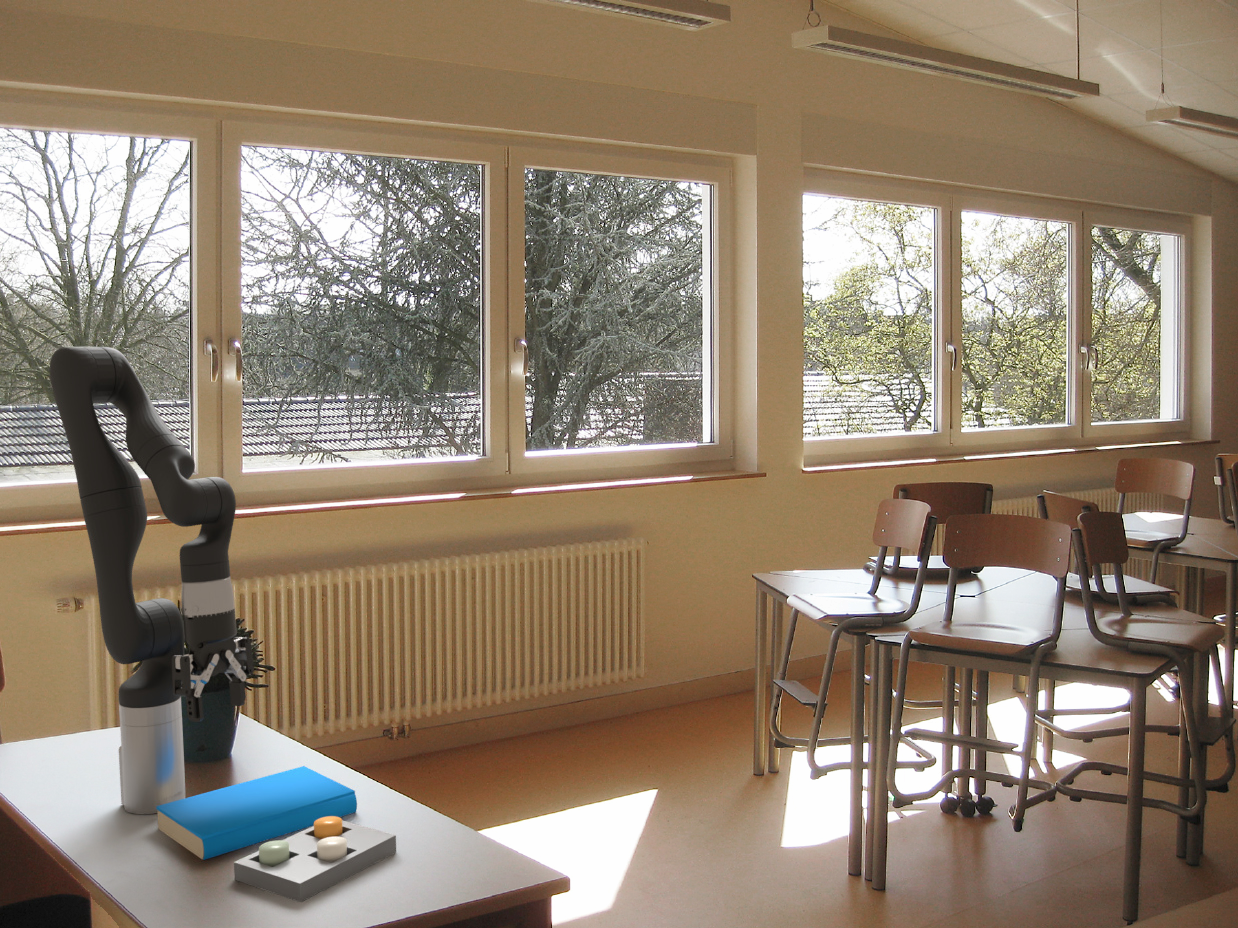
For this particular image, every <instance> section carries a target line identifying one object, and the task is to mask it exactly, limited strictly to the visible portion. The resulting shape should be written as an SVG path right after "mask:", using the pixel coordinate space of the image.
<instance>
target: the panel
mask: <svg viewBox="0 0 1238 928" xmlns="http://www.w3.org/2000/svg"><path fill="white" fill-rule="evenodd" d="M342 830H343V834H341V835H339V836H337V837H343V838H345V839H346V841H347V856H345V857H343V858H341V859H339V860H337V861H335V862H333V863H330V862H327V861H323V860H320V859H317V843H318V841H320V840H322V839H320V838H316V837H314V825H313V826H310V827H307V828H305V829H302V831H299V832H297V833H295V834H292V835H291V836H288V837H285V838H284V839H280V840H281V841H286V842H288V843H289V857H290V859H289V860H287V861H284V862H282V863H280V864H278V865H276V866H274V867H271V866H267V865H264V864H261V863H259V850H258V851H255V852H254V853H253V852H252V853H251V854H249V855H247V856H245V857H242V858H240V859H238V860H236V861H234V862H233V870H234V872H233V873H234V880H235V881H237V882H240V883H243V884H247V885H248V886H253V887H255V888H258V889H261V890H265V891H267V892H271V893H273V894H276V895H278V896H279V895H280V896H282V897H285V898H287V899H291V900H293V901H297V902H303V901H306V900H307V899H309V898H311V897H313V896H315V895H317V894H318V893H321V892H323V891H324V890H326V889H329V888H330V887H332V886H334V885H336V884H338V883H341V882H342V881H344V880H345V879H347V878H349V877H351V876H353V875H355V874H357V873H359V872H361V871H363V870H365V869H366V868H368V867H370V866H372V865H374V864H376V863H378V862H380V861H382V860H384V859H387V858H388V857H390V856H391V855H393V854H396V852H397V835H396V834H393V833H389V832H386V831H382V830H378V829H375V828H371V827H368V826H364V825H360V824H356V823H353V822H349V821H345V820H342Z"/></svg>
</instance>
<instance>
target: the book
mask: <svg viewBox="0 0 1238 928" xmlns="http://www.w3.org/2000/svg"><path fill="white" fill-rule="evenodd" d="M357 802H358V801H357V796H356V790H354V789H353V788H352V789H351V788H350V787H348V786H346V785H344V784H341V783H340V782H337V781H336V780H333V779H332V778H329V777H327V776H325V775H323V774H322V773H319V772H316V771H315V770H313V769H311V768H309V767H307V766H305V765H303V766H299V767H296V768H292V769H288V770H287V769H286V770H285V771H281V772H277V773H273V774H270V775H267V776H261V777H258V778H255V779H251V780H248V781H244V782H240V783H237V784H232V785H230V786H225V787H222V788H219V789H214V790H210V791H208V792H204V793H203V792H202V793H200V794H196V795H192V796H189V797H185V799H181V800H177V801H174V802H170V803H166V804H163V805H159V806H156V809H157V811H158V813H157V827H158V830H160V831H161V832H162V833H163V834H165V835H167V836H168V837H169V838H171V839H172V840H174V841H175V842H176V843H178V844H180V845H181V846H182V847H184V848H185V849H187V850H188V851H190V852H191V853H192V854H194V855H195V856H197V857H198V858H199V859H201V860H203V861H205V860H209V859H211V858H215V857H218V856H221V855H224V854H227V853H229V852H234V851H238V850H241V849H243V848H246V847H249V846H252V845H256V844H260V843H262V842H265V841H268V840H271V839H275V838H278V837H282V836H284V835H288V834H291V833H293V832H297V831H300V830H305V829H308V828H310V827H312V826H314V822H315V821H316V820H317V819H319V818H322V817H328V816H336V817H340V818H341V817H345V816H348V815H351V814H353V813H356V812H357V809H358V803H357Z"/></svg>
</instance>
